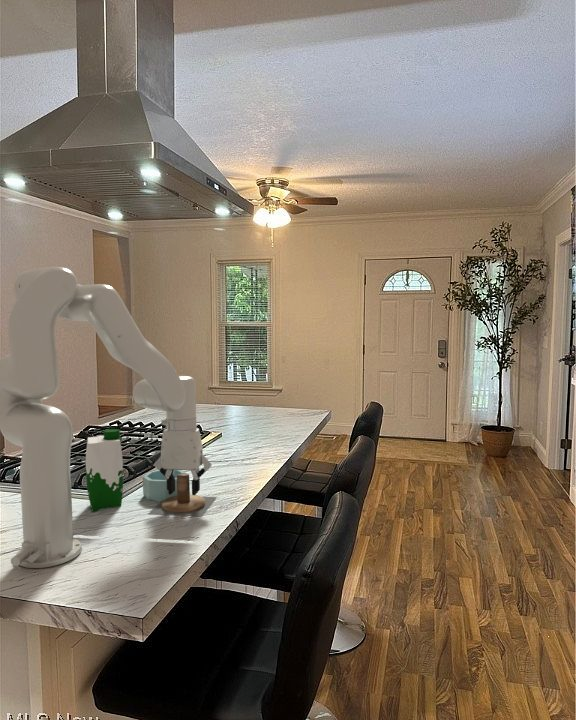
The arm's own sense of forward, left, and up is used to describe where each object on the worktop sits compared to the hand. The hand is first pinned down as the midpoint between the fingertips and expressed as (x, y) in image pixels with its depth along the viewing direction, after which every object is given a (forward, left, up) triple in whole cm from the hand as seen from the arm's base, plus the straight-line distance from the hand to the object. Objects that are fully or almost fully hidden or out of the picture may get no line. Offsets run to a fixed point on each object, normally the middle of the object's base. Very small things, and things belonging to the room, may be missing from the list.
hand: (183, 492), depth 139 cm
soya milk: (-1, +21, -4) cm, 21 cm away
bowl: (+8, +8, -4) cm, 12 cm away
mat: (0, 0, -4) cm, 4 cm away
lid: (0, 0, -3) cm, 3 cm away
